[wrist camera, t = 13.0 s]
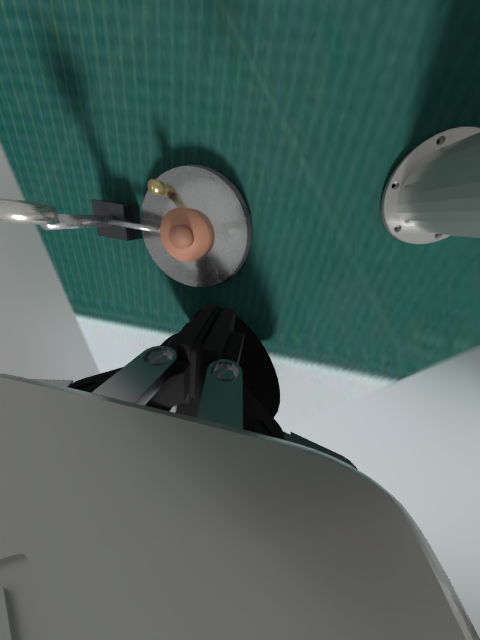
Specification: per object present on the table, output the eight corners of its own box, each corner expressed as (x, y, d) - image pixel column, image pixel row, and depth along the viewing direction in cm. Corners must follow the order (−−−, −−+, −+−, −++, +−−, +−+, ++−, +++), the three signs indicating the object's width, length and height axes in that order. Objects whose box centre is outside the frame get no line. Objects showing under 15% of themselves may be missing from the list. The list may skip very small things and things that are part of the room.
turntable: (213, 139, 26) (199, 121, 21) (265, 258, 32) (264, 266, 27) (125, 208, 31) (99, 206, 27) (184, 298, 37) (170, 310, 33)
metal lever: (179, 213, 32) (87, 208, 16) (179, 245, 34) (99, 268, 19) (110, 201, 33) (-40, 186, 17) (115, 233, 35) (-13, 246, 19)
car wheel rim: (182, 320, 42) (116, 394, 24) (213, 291, 37) (161, 355, 20) (244, 378, 47) (227, 474, 29) (278, 358, 42) (282, 456, 25)
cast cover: (198, 198, 28) (184, 194, 24) (223, 244, 30) (214, 248, 26) (162, 224, 30) (143, 225, 26) (188, 265, 33) (175, 272, 28)
